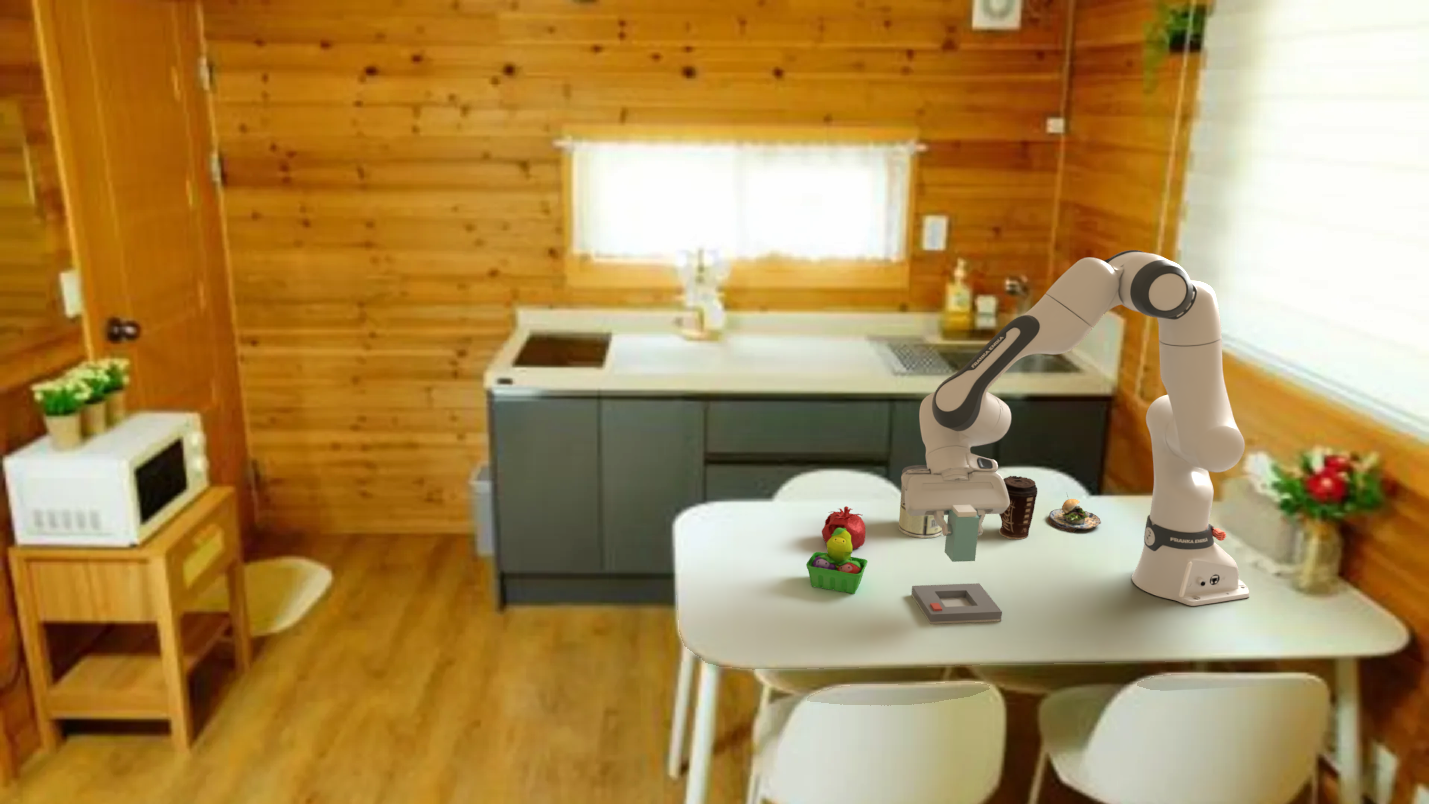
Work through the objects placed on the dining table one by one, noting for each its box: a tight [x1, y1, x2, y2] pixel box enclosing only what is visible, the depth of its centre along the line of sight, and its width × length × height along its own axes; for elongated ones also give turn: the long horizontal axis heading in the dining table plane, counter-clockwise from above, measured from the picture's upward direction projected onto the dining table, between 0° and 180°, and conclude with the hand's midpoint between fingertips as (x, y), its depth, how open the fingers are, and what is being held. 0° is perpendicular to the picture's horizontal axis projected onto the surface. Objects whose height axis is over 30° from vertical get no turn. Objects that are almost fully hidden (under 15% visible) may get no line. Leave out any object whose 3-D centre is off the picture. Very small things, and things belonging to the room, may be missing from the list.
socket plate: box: [911, 582, 1003, 625], centre depth 205 cm, size 14×12×2 cm
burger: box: [1048, 492, 1102, 534], centre depth 246 cm, size 12×12×8 cm
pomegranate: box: [821, 506, 866, 551], centre depth 231 cm, size 10×10×9 cm
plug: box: [944, 505, 979, 563], centre depth 200 cm, size 4×4×10 cm
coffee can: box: [898, 464, 945, 539], centre depth 240 cm, size 10×10×14 cm
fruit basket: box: [805, 528, 868, 595], centre depth 212 cm, size 11×9×11 cm
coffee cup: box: [998, 475, 1038, 540], centre depth 239 cm, size 9×8×13 cm
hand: (963, 534), depth 200 cm, fingers closed on plug, 4 cm apart
